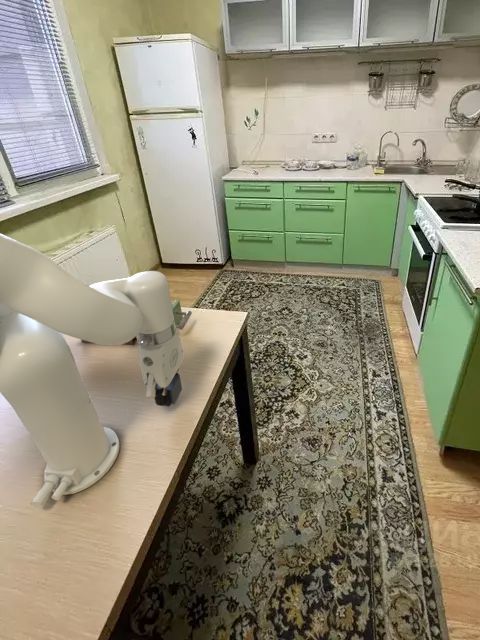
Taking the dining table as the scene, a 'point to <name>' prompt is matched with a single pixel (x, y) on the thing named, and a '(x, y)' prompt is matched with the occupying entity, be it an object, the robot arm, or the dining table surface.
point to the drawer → (179, 316)
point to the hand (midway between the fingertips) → (168, 394)
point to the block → (174, 388)
